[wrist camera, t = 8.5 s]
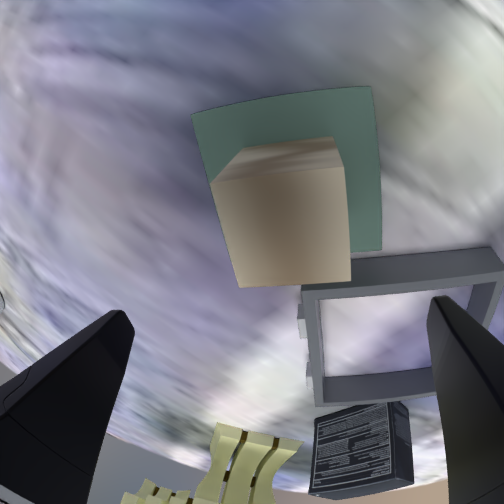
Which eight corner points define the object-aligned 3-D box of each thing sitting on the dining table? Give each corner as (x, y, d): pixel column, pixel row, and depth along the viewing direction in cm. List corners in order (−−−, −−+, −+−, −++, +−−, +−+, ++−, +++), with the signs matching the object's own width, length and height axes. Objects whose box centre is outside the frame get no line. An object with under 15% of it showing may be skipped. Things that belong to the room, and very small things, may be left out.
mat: (367, 86, 14) (370, 86, 13) (379, 242, 19) (381, 250, 18) (196, 112, 16) (190, 114, 16) (234, 254, 21) (231, 262, 21)
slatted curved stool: (165, 437, 47) (135, 514, 32) (161, 404, 38) (118, 508, 23) (317, 472, 46) (305, 550, 31) (355, 447, 37) (347, 550, 22)
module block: (332, 136, 15) (343, 166, 10) (341, 218, 17) (351, 281, 12) (243, 148, 16) (209, 184, 11) (260, 226, 19) (239, 287, 14)
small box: (339, 433, 35) (334, 502, 26) (312, 418, 33) (303, 494, 24) (410, 410, 29) (415, 486, 21) (390, 391, 28) (395, 479, 19)
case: (490, 246, 17) (508, 270, 14) (452, 367, 24) (458, 390, 22) (294, 263, 21) (291, 291, 18) (311, 382, 28) (309, 406, 26)
